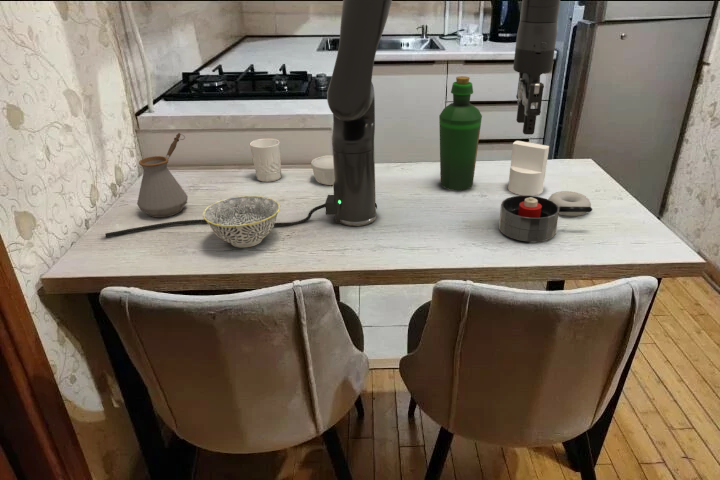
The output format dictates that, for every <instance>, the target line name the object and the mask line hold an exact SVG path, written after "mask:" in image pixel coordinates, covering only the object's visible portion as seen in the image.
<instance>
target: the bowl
mask: <svg viewBox="0 0 720 480" xmlns="http://www.w3.org/2000/svg"><path fill="white" fill-rule="evenodd" d="M280 210H281V205H280V203H279V202H278V201H277V200H275V199H273V198H272V197H271V198H270V197H267V196H264V195H263V196H262V195H239V196H232V197H227V198H224V199H221V200H218V201H215V202H213V203H211V204H209V205H208V206H207V207H206V208H205V209H204V210H203V211H202V218H203V219H205V220H206V222H207V223H206V224H208V225H209V227H210V229H211V231H212V232H213V233H214V234H215V235H216V236H217V238H218V239H220V240H221V241H224V242H226V243H228V244H230V245H231V246H232V247H235V248H241V249H243V248H245V249H246V248H250V247H254V246H257V245H259V244H260V243H262V241H263V239H264V238H267V236H268V235H269V234H270V233H271V232H272V230H273V229H274V228H275V226H274V224H275V223H276V221H277V217H278V214H279V212H280Z"/></svg>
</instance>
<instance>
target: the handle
mask: <svg viewBox="0 0 720 480" xmlns="http://www.w3.org/2000/svg"><path fill="white" fill-rule="evenodd" d="M592 211H593V208H592V206H591V207H561V206H560V207H559V212H587V213H592Z"/></svg>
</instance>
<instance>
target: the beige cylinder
mask: <svg viewBox="0 0 720 480" xmlns="http://www.w3.org/2000/svg"><path fill="white" fill-rule="evenodd" d="M249 146H250V152H251V157H252V163H253V167H254V171H255V177H256V179H257V181H259V182H267V183H269V182H270V183H271V182H275V181H278V180H280V179H281V177H282V156H281V143H280V140H278V139H276V138H259V139H254V140H252V141H251V142H250V143H249Z"/></svg>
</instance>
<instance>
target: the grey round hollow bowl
mask: <svg viewBox="0 0 720 480" xmlns="http://www.w3.org/2000/svg"><path fill="white" fill-rule="evenodd" d="M529 197H533V198H535V199H537V200H538V203H540V204H541V206H542V208H541V215H540V218H529V217H522V216H518V211H519V204H520V203H521V202H523V201H524V200H525V199H526V198H529ZM548 199H549V198H548ZM548 199H547V198H546V197H541V196H538V195H534V196H524V195H513V196H509V197H507V198H505V199H503V200H502V201H501V203H500V210H499V220H498V229H499V231H500V232H501V233H502V234H503V235H504V236H506V237H508V238H510V239H513V240H515V241H521V242H526V243H527V242H528V243H535V242H536V243H537V242H544V241H547V240H550V239H552V238H553V237H554V236H555V235H556V232H557V228H558V221H559V215H560V214H559V207H558V205H557V204H556V203H554V202H553V201H550V200H548Z"/></svg>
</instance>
